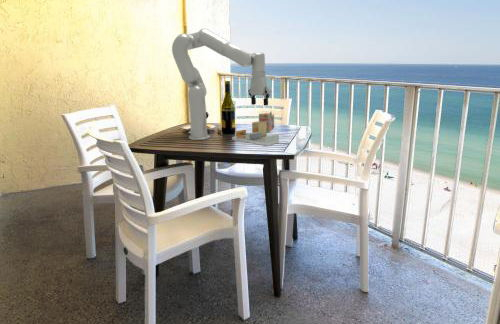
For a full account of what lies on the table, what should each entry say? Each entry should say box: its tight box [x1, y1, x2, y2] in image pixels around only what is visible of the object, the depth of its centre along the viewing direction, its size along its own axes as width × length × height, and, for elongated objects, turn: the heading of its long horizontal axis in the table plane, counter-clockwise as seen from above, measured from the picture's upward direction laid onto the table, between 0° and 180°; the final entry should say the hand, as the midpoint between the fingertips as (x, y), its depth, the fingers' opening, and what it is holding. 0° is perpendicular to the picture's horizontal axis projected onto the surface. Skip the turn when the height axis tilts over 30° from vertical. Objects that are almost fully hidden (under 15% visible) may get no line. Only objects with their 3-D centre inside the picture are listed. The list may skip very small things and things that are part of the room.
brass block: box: [251, 120, 267, 138], centre depth 224 cm, size 5×7×9 cm
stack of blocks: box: [258, 110, 275, 134], centre depth 247 cm, size 21×6×12 cm, turn 167°
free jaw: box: [235, 129, 262, 140], centre depth 216 cm, size 13×10×3 cm
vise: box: [231, 134, 280, 147], centre depth 213 cm, size 27×10×4 cm, turn 46°
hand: (259, 104), depth 220 cm, fingers open, 9 cm apart
